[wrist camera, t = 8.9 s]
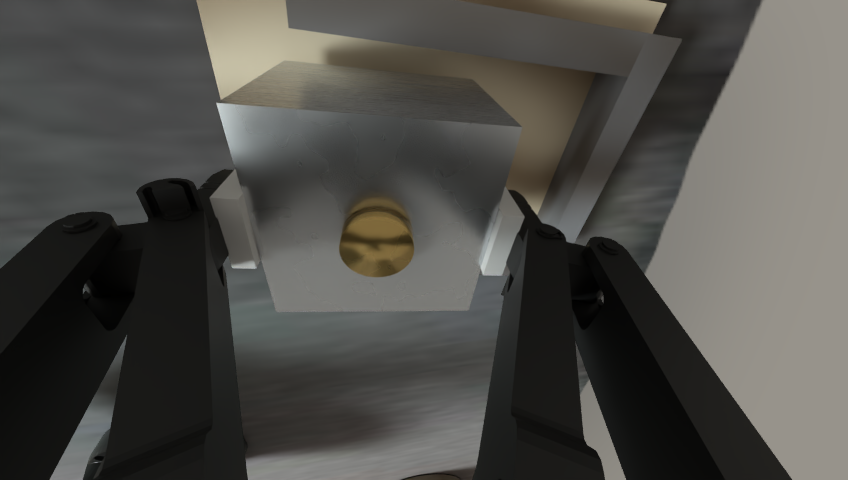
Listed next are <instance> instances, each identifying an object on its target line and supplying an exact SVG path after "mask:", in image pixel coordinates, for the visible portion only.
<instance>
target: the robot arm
mask: <svg viewBox="0 0 848 480" xmlns="http://www.w3.org/2000/svg"><path fill="white" fill-rule="evenodd" d="M136 193H137V195H138V197H139V200H140V202H141V204H142V206H143V208H144V210H145V212H146V214H147V216H148V222H145V223H138V224H129V225H120V226H117V224H116V222H115V221H114V219H113V217H112V216H111V215H110V214H107V213H104V212H85V213H84V212H81V213H76V214H72V215H68V216H66V217H64V218H62V219H59V220H57V221H55V222H53V223H52V224H50V225H49V226H47V227H46V228H45V229H44V230H43V231H42V232H41V233H40V234H38V235H37V236H36V237H35V238H34V239H33V240H32V241H31V242H30V243H29V244H27V245H26V246H25V247H24V248H23V249H22V250H21V251H20V252H19V253H17V254H16V255H15V256H14V257H13V258H12V259H11V260H10V261H9V262H7V263H6V264H5V265H4V266H3V267H2V268H1V269H0V480H49V479H50V477H51V476H52V474H53V472H54V470H55V468H56V466H57V464H58V463H59V461H60V459H61V457H62V455H63V453H64V451H65V449H66V448H67V446H68V444H69V442H70V440H71V438H72V436H73V434H74V433H75V431H76V429H77V427H78V425H79V423H80V421H81V419H82V418H83V416H84V414H85V412H86V410H87V408H88V406H89V405H90V403H91V401H92V399H93V397H94V395H95V393H96V391H97V390H98V388H99V386H100V384H101V382H102V380H103V378H104V376H105V375H106V373H107V371H108V369H109V367H110V365H111V363H112V361H113V360H114V358H115V356H116V354H117V352H118V350H119V348H120V346H121V345H122V343H123V341H124V339H125V337H126V335H127V339H126V345H125V350H124V356H123V361H122V367H121V372H120V378H119V384H118V389H117V395H116V400H115V406H114V411H113V417H112V422H111V428H110V429H109V430H108V431H107V432H105V434H104V435H103V437H102V438H101V440H100V441H99V443H98V444H97V446H96V447H95V449H94V451H93V452H92V454H91V456H90V458H89V461H88V464H87V467H86V471H85V474H84V477H83V480H248V477H247V469H246V460H245V454H246V450H247V444H246V442H245V440H244V439H243V431H242V422H241V412H240V403H239V393H238V384H237V374H236V365H235V355H234V346H233V336H232V327H231V317H230V308H229V298H228V289H227V279H226V273H225V270H224V267H223V263H224V261H225V259H226V258H227V256H229V259H230V262H231V266H232V268H250V269H256V268H257V266H258V264H259V262H260V260H261V257H260V253H259V250H258V246H257V243H256V239H255V236H254V232H253V229H252V225H251V222H250V218H249V215H248V211H247V207H246V203H245V199H244V195H243V193H242V190H241V187H240V184H239V180H238V177H237V173H236V170H226V169H224V170H222V171H220V172H217V173H215V174H213V175H212V176H211V177H210V178H209V179H208V180H207V181H206V183H204V184H203V185H202V186H201V187H200V189H198V190H197V189H196V186H195V184H194V183H193V182H192V181H189V180H187V179H180V178H168V179H162V180H156V181H153V182H150V183H147V184H145V185H143V186H142V187H140V188H139V189H138V190H137V192H136ZM506 264H507V267H508V269H509V271H510V274H509V276H508V279H507V281H506V284H505V286H504V288H503V291H502V293H501V295H503V296H504V300H503V306H502V313H501V319H500V325H499V331H498V337H497V344H496V350H495V356H494V362H493V369H492V375H491V381H490V387H489V394H488V400H487V406H486V412H485V418H484V425H483V431H482V437H481V443H480V450H479V456H478V461H477V466H476V470H475V473H474V476H473V479H472V480H605V477H604V471H603V467H602V463H601V459H600V457H599V456H598V453H597V452H596V450H594V449H592V448H591V447H589V446H588V445H587V444H586V442H585V440H584V435H583V426H582V414H581V403H580V391H579V380H578V369H577V357H576V346H575V341H576V344H577V346H578V349H579V352H580V355H581V357H582V360H583V363H584V366H585V368H586V371H587V374H588V376H589V379H590V382H591V385H592V387H593V390H594V393H595V396H596V398H597V401H598V404H599V406H600V409H601V412H602V415H603V417H604V420H605V423H606V426H607V428H608V431H609V434H610V436H611V439H612V442H613V445H614V447H615V450H616V453H617V456H618V458H619V461H620V464H621V467H622V469H623V472H624V475H625V477H626V480H792V479H791V478H790V476H789V475H788V473H787V472H786V470H785V469H784V468H783V466H782V465H781V464H780V462H779V461H778V459H777V458H776V457H775V455H774V454H773V452H772V451H771V450H770V448H769V447H768V445H767V444H766V443H765V442H764V440H763V439H762V437H761V436H760V434H759V433H758V432H757V430H756V429H755V427H754V426H753V425H752V424H751V422H750V420H749V419H748V418H747V416H746V415H745V414H744V412H743V411H742V409H741V408H740V407H739V405H738V404H737V402H736V401H735V400H734V398H733V397H732V395H731V394H730V393H729V391H728V390H727V389H726V387H725V386H724V384H723V383H722V382H721V380H720V379H719V377H718V376H717V375H716V373H715V372H714V370H713V369H712V368H711V366H710V365H709V364H708V362H707V361H706V360H705V358H704V357H703V355H702V354H701V352H700V351H699V350H698V348H697V347H696V345H695V344H694V343H693V341H692V340H691V339H690V337H689V336H688V334H687V333H686V332H685V330H684V329H683V328H682V326H681V325H680V323H679V322H678V321H677V319H676V318H675V316H674V315H673V314H672V312H671V311H670V309H669V308H668V307H667V305H666V304H665V302H664V301H663V300H662V298H661V297H660V296H659V294H658V293H657V291H656V290H655V289H654V287H653V286H652V284H651V283H650V282H649V280H648V279H647V277H646V276H645V275H644V273H643V272H642V270H641V269H640V268H639V266H638V265H637V264H636V262H635V261H634V259H633V258H632V257H631V255H630V254H629V252H628V251H627V250H626V249H625V248H624V247H623V246H622V245H620V244H618V243H617V242H616V241H614V240H612V239H609V238H604V237H592V238H590V240H589V241H588V243H587V245H586V246H582V245H578V244H574V243H570V242H567V241H566V237H565V235H564V234H563V233H562V232H561V231H560V230H559V229H557V228H555V227H554V226H551V225H548V224H544V223H542V222H541V221H540V219H539V218H538V216H537V215H536V213H535V212H534V211H533V210H532V208H531V206H530V205H529V204H528V202H527V201H526V199H525V198H524V196H522V195H521V194H520V193H518V192H517V191H516V190H507V188H506V187H505V188H504V192H503V195H502V199H501V202H500V205H499V209H498V212H497V215H496V219H495V222H494V226H493V229H492V232H491V236H490V239H489V242H488V246H487V249H486V253H485V256H484V259H483V262H482V265H481V271H482V274H483V275H493V276H502V274H503V271H504V269H505V266H506ZM83 288H85V290H86V291H85V292H84V294H83ZM603 295H604V303H603V302H602V300H601V297H602V296H603ZM127 333H128V334H127Z"/></svg>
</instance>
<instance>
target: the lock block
mask: <svg viewBox="0 0 848 480" xmlns="http://www.w3.org/2000/svg"><path fill="white" fill-rule="evenodd" d="M217 107H218V110H219V114H220V117H221V121H222V124H223V128H224V131H225V135H226V138H227V142H228V145H229V149H230V152H231V156H232V159H233V163H234V166H235V170H236V173H237V177H238V180H239V184H240V187H241V190H242V193H243V195H244V199H245V203H246V207H247V211H248V215H249V218H250V222H251V225H252V229H253V232H254V236H255V239H256V243H257V246H258V250H259V253H260V257H261V260H262V264H263V267H264V271H265V274H266V278H267V281H268V285H269V288H270V292H271V295H272V299H273V302H274V306H275V309H276V312H349V311H468V310H469V307H470V303H471V300H472V297H473V293H474V290H475V286H476V283H477V280H478V276H479V273H480V270H481V265H482V262H483V259H484V256H485V253H486V249H487V246H488V242H489V239H490V236H491V232H492V229H493V226H494V222H495V219H496V215H497V212H498V209H499V205H500V202H501V199H502V195H503V192H504V188H505V185H506V182H507V178H508V175H509V171H510V168H511V165H512V161H513V158H514V155H515V151H516V148H517V144H518V141H519V138H520V134H521V131H522V126H521V125H520V124H519V123H518V122H517V121H516V120H515V119H514V118H513V117H511V116H510V115H509V114H508V113H507V112H506V111H505V110H504V109H503V108H502V107H501V106H500V105H499V104H498V103H497V102H496V101H495V100H494V99H493V98H492V97H491V96H490V95H489V94H488V93H487V92H486V91H484V90H483V89H482V88H481V87H480V86H479V85H478V84H477V83H476V82H475V81H474V80H473V79H467V78H457V77H447V76H437V75H427V74H417V73H407V72H397V71H387V70H377V69H367V68H357V67H347V66H337V65H326V64H316V63H306V62H296V61H286V60H284V61H282V62H281V63H279V64H278V65H276V66H274V67H273V68H271V69H270V70H268V71H266V72H265V73H263V74H262V75H260V76H258V77H257V78H255V79H254V80H252V81H251V82H249V83H247V84H246V85H244V86H243V87H241V88H239V89H238V90H236V91H235V92H233V93H231V94H230V95H228V96H227V97H225V98H223V99H222V100H220V101H219V102H217Z"/></svg>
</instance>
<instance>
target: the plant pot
mask: <svg viewBox="0 0 848 480" xmlns="http://www.w3.org/2000/svg"><path fill="white" fill-rule="evenodd" d="M405 480H460V479H459V478H457V477H455V476H451V475H446V474H430V475H422V476H416V477H412V478H408V479H405Z"/></svg>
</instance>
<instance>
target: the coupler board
mask: <svg viewBox="0 0 848 480" xmlns="http://www.w3.org/2000/svg"><path fill="white" fill-rule="evenodd" d="M197 4H198V8H199V12H200V16H201V21H202V25H203V29H204V33H205V37H206V41H207V45H208V49H209V53H210V57H211V61H212V65H213V70H214V74H215V78H216V82H217V86H218V90H219V94H220V98H221V100H222V99H223V98H225V97H227V96H228V95H230V94H231V93H233V92H235V91H236V90H238V89H239V88H241V87H243V86H244V85H246V84H247V83H249V82H251V81H252V80H254V79H255V78H257V77H258V76H260V75H262V74H263V73H265V72H266V71H268V70H270V69H271V68H273V67H274V66H276V65H278V64H279V63H281V62H282V61H284V60H286V61H296V62H306V63H316V64H326V65H337V66H347V67H357V68H367V69H377V70H387V71H397V72H407V73H417V74H427V75H437V76H447V77H457V78H467V79H473V80H474V81H475V82H476V83H477V84H478V85H479V86H480V87H481V88H482V89H483V90H484V91H486V92H487V93H488V94H489V95H490V96H491V97H492V98H493V99H494V100H495V101H496V102H497V103H498V104H499V105H500V106H501V107H502V108H503V109H504V110H505V111H506V112H507V113H508V114H509V115H510V116H511V117H513V118H514V119H515V120H516V121H517V122H518V123H519V124H520V125H521V126H522V131H521V134H520V138H519V141H518V144H517V148H516V151H515V155H514V158H513V161H512V165H511V168H510V171H509V175H508V178H507V182H506V185H505V187H506V188H507V190H516V191H517V192H518V193H520V194H521V195H522V196H524V198H525V199H526V201H527V202H528V204H529V205H530V206H531V208H532V210H533V211H534V212H535V213H536V215H537V216H538V218H539V219H540V221H541V222H542V223H544V224H548V225H551V226H554V227H555V228H557V229H559V230H560V231H561V232H562V233H563V234H564V235H565V237H566V241H567V242H570V243H574V242H575V240H576V238H577V237H578V235H579V233H580V231H581V229H582V227H583V225H584V223H585V222H586V220H587V218H588V216H589V214H590V212H591V210H592V208H593V207H594V205H595V203H596V201H597V199H598V197H599V195H600V193H601V192H602V190H603V188H604V186H605V184H606V182H607V180H608V178H609V177H610V175H611V173H612V171H613V169H614V167H615V165H616V163H617V162H618V160H619V158H620V156H621V154H622V152H623V150H624V148H625V147H626V145H627V143H628V141H629V139H630V137H631V135H632V133H633V132H634V130H635V128H636V126H637V124H638V122H639V120H640V118H641V117H642V115H643V113H644V111H645V109H646V107H647V105H648V103H649V102H650V100H651V98H652V96H653V94H654V92H655V90H656V88H657V87H658V85H659V83H660V81H661V79H662V77H663V75H664V73H665V72H666V70H667V68H668V66H669V64H670V62H671V60H672V58H673V56H674V55H675V53H676V51H677V49H678V47H679V45H680V43H681V41H682V40H683V39H680V38H674V37H668V36H662V35H656V34H653V32H654V30H655V28H656V25H657V23H658V21H659V19H660V17H661V15H662V13H663V11H664V9H665V7H666V5H667V4H665V3H660V2H654V1H649V0H197ZM509 274H510V271H509V269H508V267H507V264H506V266H505V269H504V271H503V274H502V275H504V276H509ZM479 275H483V274H482V271H481V270H480V273H479Z"/></svg>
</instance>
